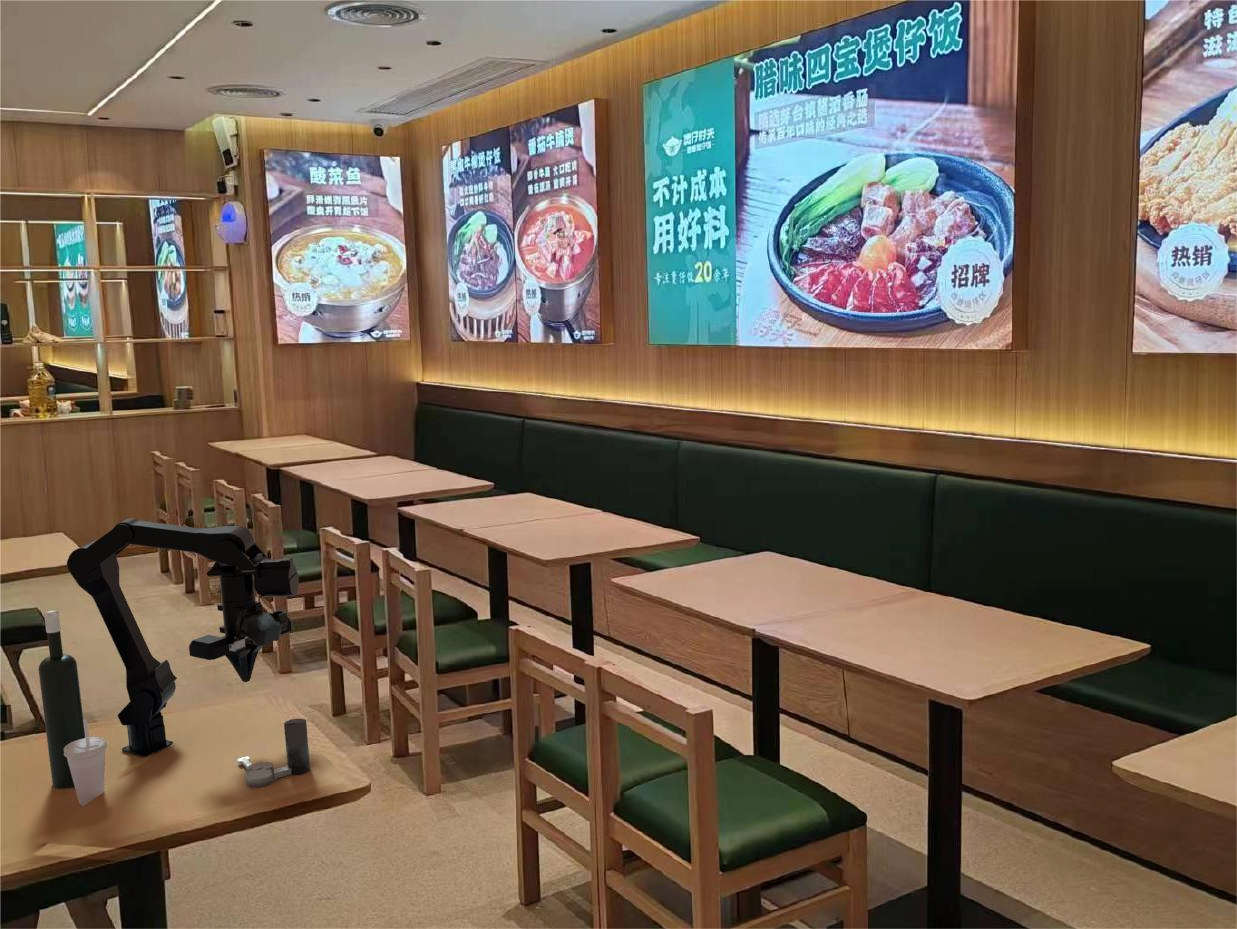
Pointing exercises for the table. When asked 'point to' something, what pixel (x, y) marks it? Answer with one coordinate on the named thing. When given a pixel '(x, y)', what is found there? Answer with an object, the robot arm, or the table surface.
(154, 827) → the table surface
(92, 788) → the smoothie
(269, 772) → the dial
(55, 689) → the wine bottle
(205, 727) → the table surface
